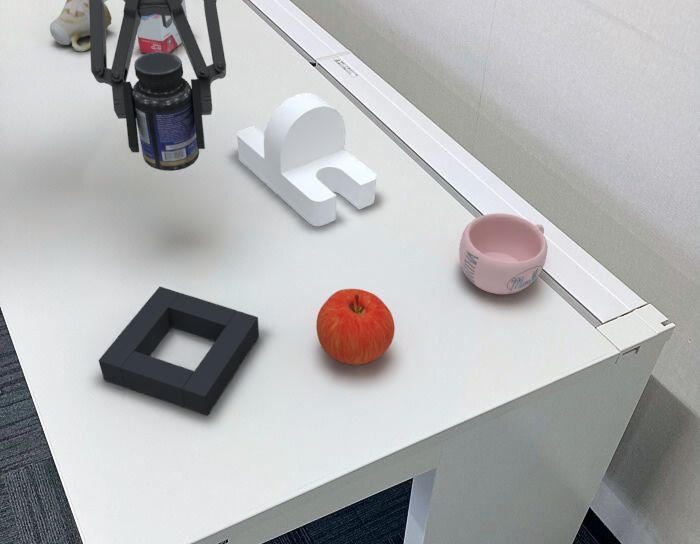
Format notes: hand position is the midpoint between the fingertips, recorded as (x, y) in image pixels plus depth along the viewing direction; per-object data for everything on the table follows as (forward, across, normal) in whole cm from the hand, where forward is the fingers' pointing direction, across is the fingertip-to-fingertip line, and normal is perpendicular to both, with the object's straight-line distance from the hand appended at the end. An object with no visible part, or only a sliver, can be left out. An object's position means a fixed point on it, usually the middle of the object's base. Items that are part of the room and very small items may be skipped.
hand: (167, 147), depth 80 cm
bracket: (+1, -16, -22) cm, 27 cm away
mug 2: (+16, -38, -6) cm, 41 cm away
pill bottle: (0, 0, -5) cm, 5 cm away
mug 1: (-30, +15, -52) cm, 62 cm away
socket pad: (+22, 0, 0) cm, 22 cm away
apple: (+23, -17, +1) cm, 29 cm away
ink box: (-28, +2, -50) cm, 57 cm away
